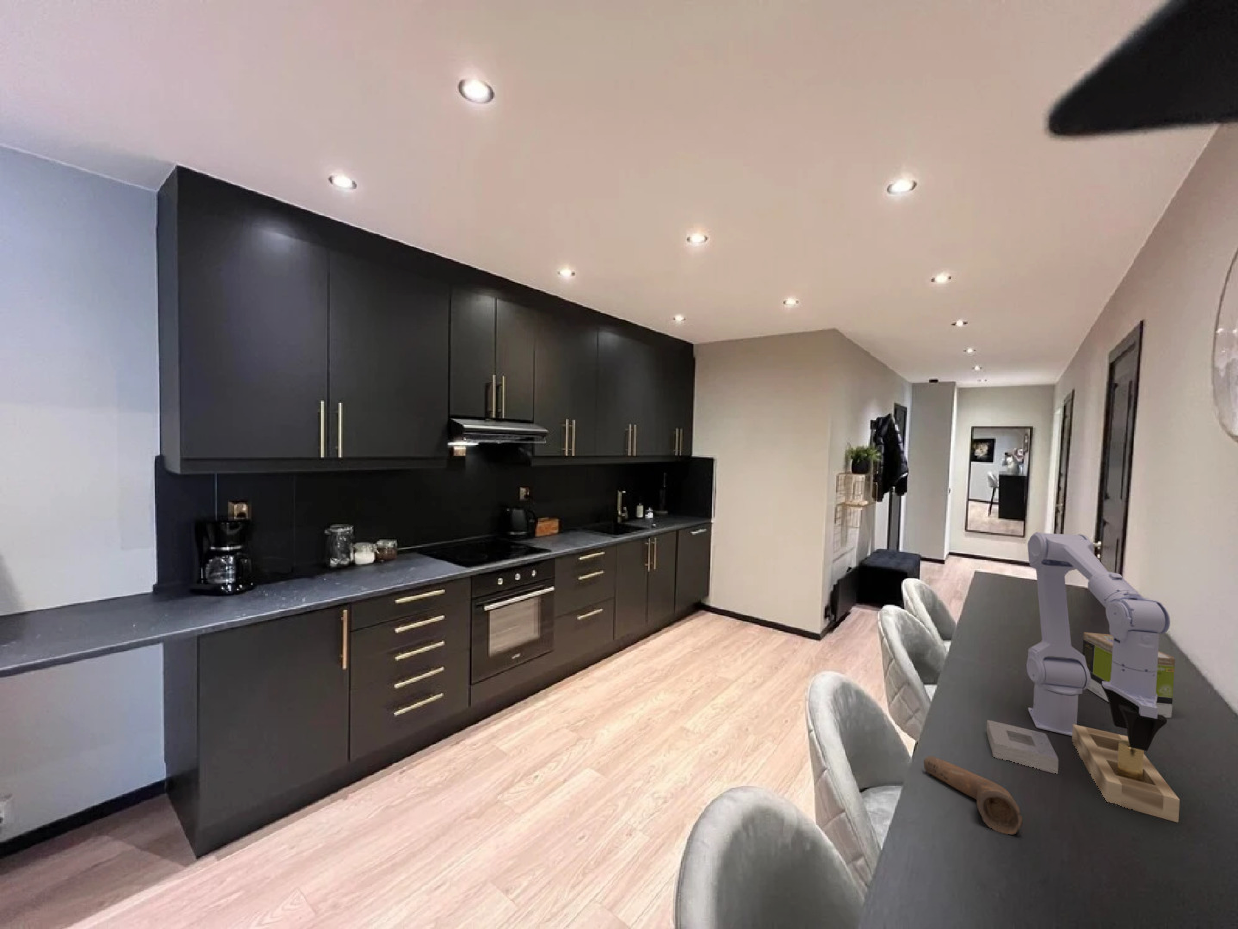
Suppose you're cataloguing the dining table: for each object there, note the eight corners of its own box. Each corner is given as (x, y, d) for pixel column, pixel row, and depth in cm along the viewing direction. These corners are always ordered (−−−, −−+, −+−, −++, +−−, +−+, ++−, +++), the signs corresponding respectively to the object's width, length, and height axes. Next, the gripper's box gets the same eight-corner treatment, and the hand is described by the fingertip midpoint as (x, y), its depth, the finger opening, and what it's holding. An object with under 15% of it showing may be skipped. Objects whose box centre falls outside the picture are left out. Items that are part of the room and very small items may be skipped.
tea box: (1174, 719, 116) (1177, 658, 115) (1123, 714, 118) (1127, 653, 117) (1122, 688, 130) (1125, 634, 130) (1078, 684, 132) (1081, 630, 132)
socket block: (986, 733, 109) (987, 719, 109) (1045, 747, 104) (1045, 733, 104) (993, 757, 100) (994, 743, 100) (1057, 774, 95) (1058, 759, 95)
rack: (1071, 742, 106) (1072, 724, 106) (1129, 756, 101) (1130, 737, 101) (1106, 802, 88) (1107, 781, 88) (1178, 822, 83) (1179, 799, 83)
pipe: (933, 742, 98) (909, 751, 92) (1039, 790, 84) (1019, 804, 79) (929, 775, 97) (905, 786, 92) (1035, 828, 84) (1015, 846, 78)
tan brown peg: (1113, 785, 93) (1116, 738, 92) (1137, 791, 91) (1139, 744, 91) (1119, 795, 90) (1122, 747, 90) (1144, 802, 88) (1147, 753, 88)
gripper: (1091, 646, 98) (1088, 712, 99) (1118, 675, 86) (1114, 751, 86) (1140, 654, 94) (1137, 723, 95) (1176, 685, 82) (1172, 765, 83)
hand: (1130, 737), depth 90 cm, fingers open, 7 cm apart
